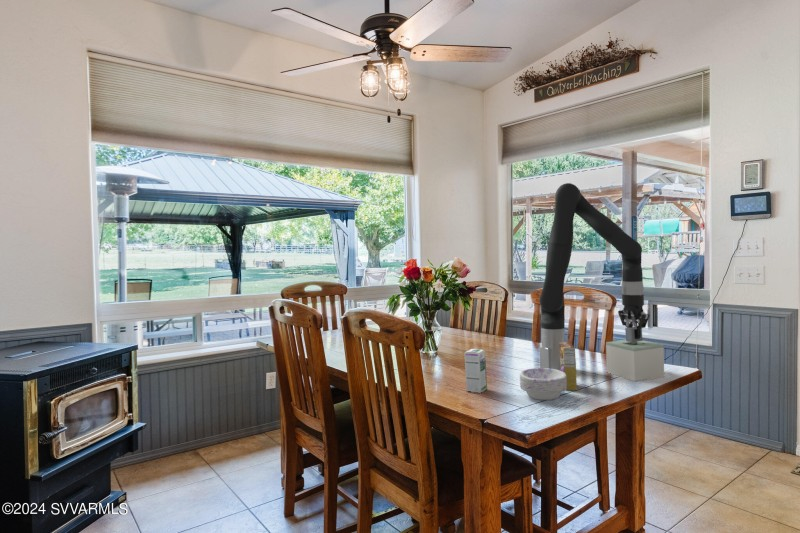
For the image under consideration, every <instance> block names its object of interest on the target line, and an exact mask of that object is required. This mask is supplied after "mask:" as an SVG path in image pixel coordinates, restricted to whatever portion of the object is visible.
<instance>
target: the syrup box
mask: <svg viewBox="0 0 800 533" xmlns="http://www.w3.org/2000/svg"><path fill="white" fill-rule="evenodd" d="M486 360H487V359H486V350H485V349H481V348H470V349H468V350H467V351H465V352H464V366H465V369H464V370H465V371H464V372H465V384H466V385H465V388H466V392H468V391H471V392H470V393H474V392H478V393H477V394H482V393H483V392H484V391H485V390H486V391H487V389H488V384H487V383H488V382H487V363H486ZM481 392H482V393H481Z"/></svg>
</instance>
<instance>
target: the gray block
mask: <svg viewBox="0 0 800 533" xmlns="http://www.w3.org/2000/svg"><path fill="white" fill-rule="evenodd" d="M634 329H635V328H634V326H633V327H630V328H626V327H625V329H624V331H625V340H626V341H628V342H637V341H642V340H643V328H641V337H640V339H635V332H634Z"/></svg>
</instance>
